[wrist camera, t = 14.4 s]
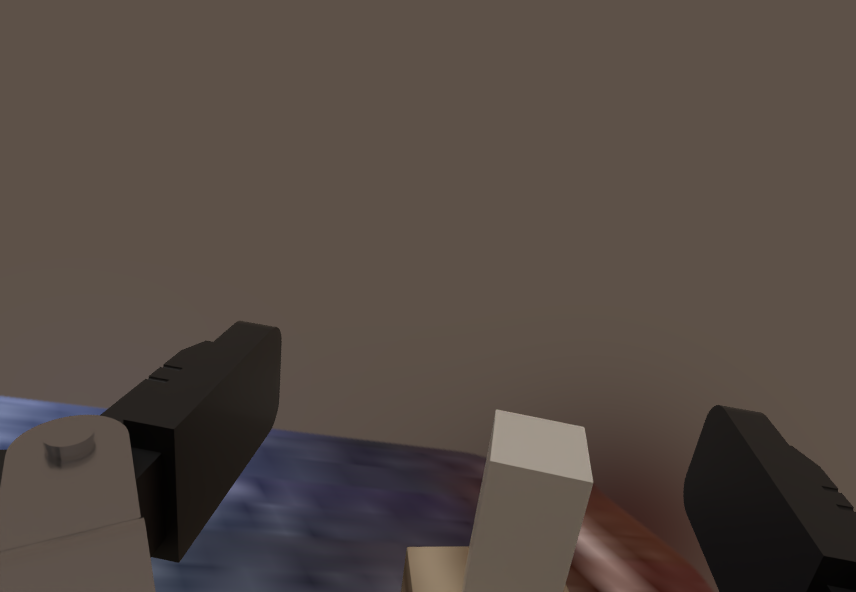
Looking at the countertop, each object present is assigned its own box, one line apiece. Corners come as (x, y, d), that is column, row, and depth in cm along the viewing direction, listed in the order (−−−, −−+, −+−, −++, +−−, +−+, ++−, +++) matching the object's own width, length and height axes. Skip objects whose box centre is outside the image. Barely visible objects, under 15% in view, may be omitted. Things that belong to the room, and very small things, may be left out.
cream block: (455, 638, 32) (490, 460, 28) (464, 570, 37) (495, 409, 33) (544, 660, 32) (593, 482, 27) (542, 588, 36) (584, 427, 32)
